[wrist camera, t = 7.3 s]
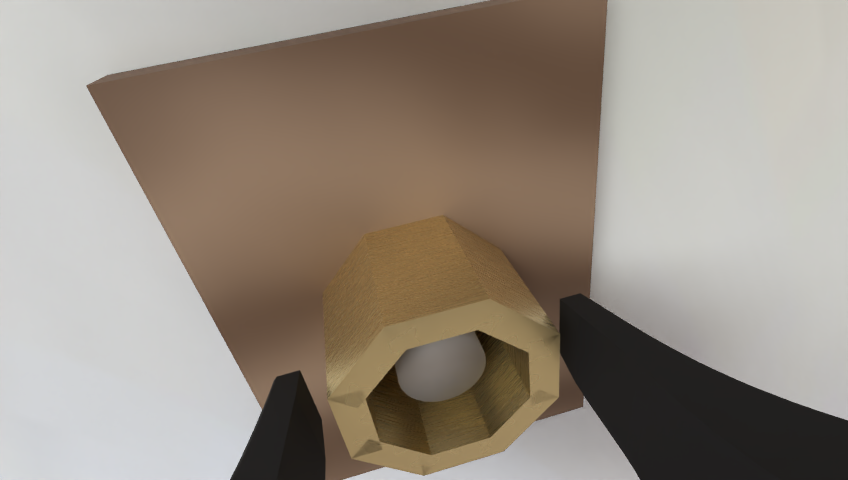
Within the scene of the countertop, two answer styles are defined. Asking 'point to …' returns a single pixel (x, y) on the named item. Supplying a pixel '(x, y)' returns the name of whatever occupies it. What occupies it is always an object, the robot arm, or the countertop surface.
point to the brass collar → (425, 323)
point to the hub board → (371, 172)
